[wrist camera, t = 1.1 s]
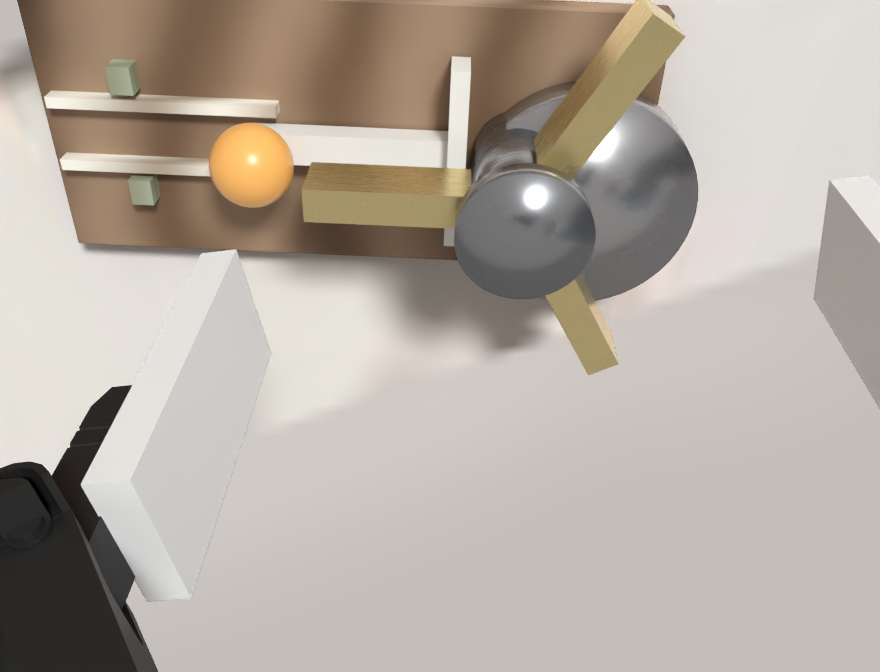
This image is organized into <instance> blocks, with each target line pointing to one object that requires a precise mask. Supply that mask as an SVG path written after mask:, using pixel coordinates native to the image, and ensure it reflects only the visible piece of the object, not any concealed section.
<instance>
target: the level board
mask: <svg viewBox="0 0 880 672" xmlns="http://www.w3.org/2000/svg"><path fill="white" fill-rule="evenodd" d="M17 1H18V5H19V9H20V13H21V17H22V21H23V24H24V29H25V32H26V37H27V41H28V45H29V49H30V52H31V56H32V60H33V64H34V68H35V72H36V76H37V80H38V84H39V88H40V92H41V96H42V100H43V104H44V107H45V111H46V115H47V119H48V123H49V127H50V131H51V135H52V139H53V143H54V147H55V151H56V155H57V159H58V163H59V166H60V170H61V174H62V178H63V182H64V186H65V190H66V194H67V198H68V202H69V206H70V210H71V214H72V218H73V222H74V225H75V229H76V233H77V237H78V241H79V243H89V244H111V245H133V246H156V247H178V248H200V249H223V250H234V249H236V250H245V251H267V252H290V253H312V254H334V255H357V256H379V257H401V258H424V259H446V260H458V259H457V256H456V252H455V246H444V228H426V227H404V226H382V225H359V224H337V223H314V222H304V218H303V204H302V190H301V189H302V187H303V184H304V181H305V179H306V176H307V173H308V170H309V168H310V166H304V165H294V173H293V178H292V181H291V184H290V186H289V188H288V189H287V191H286V192H285V193H284V194H283V195H282V197H280V198H279V199H278V200H277V201H275V202H273V203H271V204H269V205H267V206H263V207H257V208H249V207H243V206H239V205H237V204H234V203H232V202H231V201H229V200H227V199H226V198H225V197H224V196H223V195H222V194H221V193H220V192H219V191H218V190H217V188H216V187H215V185H214V183H213V181H212V179H211V176H210V172H209V155H210V151H211V148H212V146H213V144H214V142H215V140H216V139H217V138H218V137H219V136H220V134H222V133H223V132H224V131H225V130H227V129H228V128H230V127H232V126H234V125H238V124H242V123H253V122H254V123H277V124H300V125H322V126H345V127H367V128H390V129H413V130H435V131H449V107H450V84H451V63H452V56H456V57H471V81H470V98H469V116H468V134H467V151H466V169H471V167H472V163H473V160H474V157H475V143H476V139H477V136H478V134H479V132H480V130H481V129H482V127H483V126H484V125H485V124H486V123H487V122H488V121H489V120H490V119H492V118H493V117H495V116H497V115H499V114H501V113H504V112H506V111H507V110H508V109H509V108H511V107H512V106H513V105H515V104H516V103H517V102H519V101H520V100H522V99H524V98H526V97H527V96H529V95H531V94H533V93H535V92H537V91H540V90H542V89H545V88H547V87H551V86H554V85H558V84H561V83H567V82H574V81H577V80H578V79H579V77H580V76H581V74H582V73H583V72H584V70H585V69H586V68H587V66H588V65H589V64H590V62H591V61H592V60H593V58H594V57H595V55H596V54H597V53H598V51H599V50H600V49H601V47H602V46H603V45H604V43H605V42H606V41H607V39H608V38H609V36H610V35H611V34H612V32H613V31H614V30H615V28H616V27H617V26H618V24H619V23H620V21H621V20H622V19H623V17H624V16H625V15H626V13H627V12H628V11H629V9H630V8H631V7H632V5H633V4H620V3H597V2H574V1H551V0H17ZM656 6H658V7H659V8H661V9H662V10H663V11H665V12H666V13H667V14H669V15H670V16H671V17H672V18H673V20H674V17H675V15H674V14H673V12H672V11H671V9H670V8H669V7H668V6H665V5H656ZM665 64H666V62H665V63H664V64H663V65H662V67H661V68H660V69H659V70H658V72H657V73H656V74H655V75H654V77H653V78H652V79H651V80H650V82H649V83H648V84H647V86H646V87H645V88H644V89H643V91H642V92H641V93H640V94H642V95H643V96H645V97H647V98H649V99H650V100H651V101H653V102H654V103H655V104H656V105H658V100H659V95H660V90H661V84H662V79H663V74H664V69H665Z"/></svg>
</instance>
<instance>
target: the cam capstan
mask: <svg viewBox="0 0 880 672" xmlns="http://www.w3.org/2000/svg"><path fill="white" fill-rule="evenodd" d="M684 37H685V35H684V34H683V33H682V31H681V30H680V28H679V27H678V25H677V24H676V23H675V21H674V20H673V18H672V17H671V16H670V15H669V14H667V13H666V12H665V11H663V10H662V9H661V8H659V7H658V6H656V5H655V4H654V3H652V2H651V1H650V0H636V1H635V2H634V4H633V5H632V7H631V8H630V9H629V11H628V12H627V13H626V15H625V16H624V17H623V19H622V20H621V21H620V23H619V24H618V26H617V27H616V28H615V30H614V31H613V32H612V34H611V35H610V36H609V38H608V39H607V41H606V42H605V43H604V45H603V46H602V47H601V49H600V50H599V51H598V53H597V54H596V55H595V57H594V58H593V60H592V61H591V62H590V64H589V65H588V66H587V68H586V69H585V70H584V72H583V73H582V74H581V76H580V77H579V79H578V80H577V81H574V82H567V83H561V84H558V85H554V86H551V87H547V88H545V89H542V90H540V91H537V92H535V93H533V94H531V95H529V96H527V97H526V98H524V99H522V100H520V101H519V102H517V103H516V104H515V105H513V106H512V107H511V108H509V109H508V110H507V111H506V112H504V113H501V114H499V115H497V116H495V117H493V118H492V119H490V120H489V121H488V122H487V123H486V124H485V125H484V126H483V127H482V129H481V130H480V132H479V134H478V136H477V139H476V143H475V157H474V160H473V163H472V167H471V169H457V168H434V167H412V166H389V165H367V164H344V163H322V162H311V165H310V168H309V170H308V173H307V176H306V179H305V181H304V184H303V187H302V189H301V190H302V204H303V218H304V222H314V223H337V224H359V225H382V226H404V227H426V228H449V229H454V246H455V252H456V256H457V259H458V261H459V263H460V265H461V267H462V269H463V270H464V272H465V273H466V274H467V275H468V276H469V278H470V279H471V280H472V281H474V282H475V283H476V284H477V285H478V286H480V287H482V288H483V289H485V290H487V291H489V292H491V293H493V294H496V295H499V296H502V297H507V298H514V299H530V298H537V297H539V298H543V299H547V300H548V302H549V304H550V306H551V308H552V309H553V311H554V313H555V315H556V317H557V319H558V320H559V322H560V324H561V326H562V328H563V330H564V331H565V333H566V335H567V337H568V339H569V340H570V342H571V344H572V346H573V348H574V350H575V351H576V353H577V355H578V357H579V359H580V361H581V362H582V365H583V366H584V368H585V370H586V372H587V374H588V375H590V374H593V373H596V372H598V371H601V370H603V369H606V368H609V367H612V366H614V365H617V364H618V361H617V356H616V352H615V347H614V343H613V339H612V335H611V330H610V329H609V327H608V325H607V323H606V321H605V319H604V317H603V315H602V313H601V311H600V309H599V307H598V305H597V303H596V300H601V299H605V298H609V297H612V296H615V295H618V294H621V293H624V292H626V291H628V290H630V289H632V288H635V287H636V286H638V285H640V284H641V283H643V282H645V281H646V280H648V279H649V278H651V277H652V276H653V275H655V274H656V273H657V272H658V271H660V270H661V269H662V268H663V267H664V266H665V265H666V264H667V263H668V262H669V261H670V260H671V259H672V257H673V256H674V255H675V254H676V252H677V251H678V250H679V248H680V247H681V245H682V244H683V242H684V240H685V239H686V237H687V235H688V233H689V230H690V228H691V226H692V223H693V220H694V217H695V213H696V208H697V202H698V182H697V174H696V170H695V167H694V163H693V160H692V158H691V156H690V153H689V151H688V149H687V147H686V145H685V143H684V141H683V139H682V137H681V136H680V134H679V132H678V130H677V128H676V127H675V125H674V124H673V122H672V121H671V119H670V118H669V117H668V116H667V114H666V113H665V112H664V111H663V110H662V109H661V108H660V107H659V106H658V105H656V104H655V103H654V102H653V101H651V100H650V99H649V98H647V97H645V96H643V95H642V94H640V93H641V92H642V91H643V89H644V88H645V87H646V86H647V84H648V83H649V82H650V80H651V79H652V78H653V77H654V75H655V74H656V73H657V72H658V70H659V69H660V68H661V67H662V65H663V64H664V63H665V62H666V60H667V59H668V58H669V56H670V55H671V54H672V53H673V51H674V50H675V49H676V48H677V46H678V45H679V44H680V43H681V41H682V40H683V39H684Z"/></svg>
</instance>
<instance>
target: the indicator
mask: <svg viewBox="0 0 880 672" xmlns="http://www.w3.org/2000/svg"><path fill="white" fill-rule="evenodd" d="M470 81H471V57H456V56H452V63H451V84H450V107H449V131H435V130H413V129H390V128H367V127H345V126H322V125H300V124H277V123H254V122H253V123H242V124H238V125H234V126H232V127H230V128H228V129H227V130H225V131H224V132H223V133H222V134H220V136H219V137H218V138H217V139H216V140H215V142H214V144H213V146H212V148H211V151H210V155H209V172H210V176H211V179H212V181H213V183H214V185H215V187H216V188H217V190H218V191H219V192H220V193H221V194H222V195H223V196H224V197H225V198H226V199H227V200H229V201H231V202H232V203H234V204H237V205H239V206H243V207H249V208H257V207H263V206H267V205H269V204H271V203H273V202H275V201H277V200H278V199H279V198H280V197H282V195H283V194H284V193H285V192H286V191H287V189H288V188H289V186H290V184H291V181H292V178H293V173H294V165H304V166H310V165H311V162H322V163H344V164H367V165H389V166H412V167H434V168H457V169H466V151H467V134H468V116H469V98H470ZM444 246H454V229H449V228H444Z"/></svg>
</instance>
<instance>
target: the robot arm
mask: <svg viewBox="0 0 880 672" xmlns="http://www.w3.org/2000/svg"><path fill="white" fill-rule="evenodd" d="M814 300H815V301H816V303H817V305H818V307H819V308H820V310H821V312H822V313H823V315H824V317H825V318H826V320H827V322H828V323H829V325H830V327H831V328H832V330H833V332H834V333H835V335H836V337H837V338H838V340H839V342H840V343H841V345H842V347H843V348H844V350H845V352H846V353H847V355H848V357H849V358H850V360H851V362H852V363H853V365H854V367H855V368H856V370H857V372H858V373H859V375H860V377H861V379H862V380H863V382H864V383H865V385H866V387H867V389H868V390H869V392H870V394H871V395H872V397H873V398H874V400H875V402H876V404H877V405H878V407H879V409H880V184H879V183H878V182H877V181H876V180H875V179H874V178H873V177H872V175H867V176H859V177H850V178H842V179H833V180H829V188H828V195H827V202H826V210H825V217H824V225H823V232H822V240H821V247H820V254H819V262H818V270H817V277H816V284H815V292H814ZM270 356H271V351H270V348H269V345H268V342H267V339H266V336H265V333H264V330H263V327H262V324H261V321H260V318H259V315H258V312H257V309H256V306H255V303H254V300H253V297H252V294H251V291H250V288H249V285H248V282H247V279H246V276H245V274H244V271H243V268H242V265H241V262H240V259H239V256H238V253H237V250H236V249H234V250H226V251H217V252H209V253H201V255H200V257H199V259H198V261H197V263H196V265H195V266H194V268H193V270H192V272H191V274H190V276H189V278H188V280H187V282H186V284H185V286H184V288H183V289H182V291H181V293H180V295H179V297H178V299H177V301H176V303H175V305H174V307H173V309H172V310H171V312H170V314H169V316H168V318H167V320H166V322H165V324H164V326H163V328H162V330H161V332H160V333H159V335H158V337H157V339H156V341H155V343H154V345H153V347H152V349H151V351H150V353H149V354H148V356H147V358H146V360H145V362H144V364H143V366H142V368H141V370H140V372H139V374H138V375H137V377H136V379H135V381H134V383H133V385H129V386H119V387H112V388H111V389H110V390H108V391H107V392H106V393H105V394H104V395H103V396H102V397H101V398H100V399H99V400H98V401H97V402H95V403H94V404H93V405H92V406H91V408H90V409H89V411H88V413H87V415H86V416H85V418H84V420H83V422H82V423H81V425H80V427H79V428H80V431H77V432H76V434H75V436H74V437H73V439H72V441H71V443H70V448H67V450H66V452H65V453H64V455H63V457H62V459H61V460H60V462H59V464H58V466H57V467H56V469H55V471H54V473H53V474H52V476H51V475H50V473H49V471H48V470H47V469H46V468H45V467H44V466H43V465H42V464H38V463H33V462H22V463H13V464H11V465H8V466H5V467H2V468H0V672H158V670H157V668H156V666H155V663H154V661H153V659H152V657H151V654H150V652H149V649H148V647H147V645H146V643H145V641H144V638H143V636H142V633H141V631H140V629H139V626H138V624H137V622H136V620H135V617H134V615H133V613H132V611H131V610H130V608H129V606H128V605H127V603H126V599H127V597H128V594H129V592H130V589H131V587H132V584H133V582H134V580H135V582H136V583H137V585H138V587H139V588H140V590H141V592H142V594H143V596H144V597H145V599H146V601H147V602H151V601H165V600H180V599H191V598H192V595H193V592H194V589H195V586H196V583H197V580H198V577H199V574H200V571H201V568H202V565H203V561H204V558H205V555H206V552H207V549H208V546H209V543H210V540H211V537H212V534H213V531H214V528H215V524H216V521H217V518H218V515H219V512H220V509H221V506H222V503H223V500H224V497H225V494H226V491H227V488H228V485H229V482H230V479H231V476H232V472H233V469H234V466H235V463H236V460H237V457H238V454H239V451H240V448H241V445H242V442H243V439H244V436H245V433H246V430H247V427H248V424H249V420H250V417H251V414H252V411H253V408H254V405H255V402H256V399H257V396H258V393H259V390H260V387H261V384H262V381H263V378H264V375H265V371H266V368H267V365H268V362H269V359H270Z"/></svg>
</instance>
